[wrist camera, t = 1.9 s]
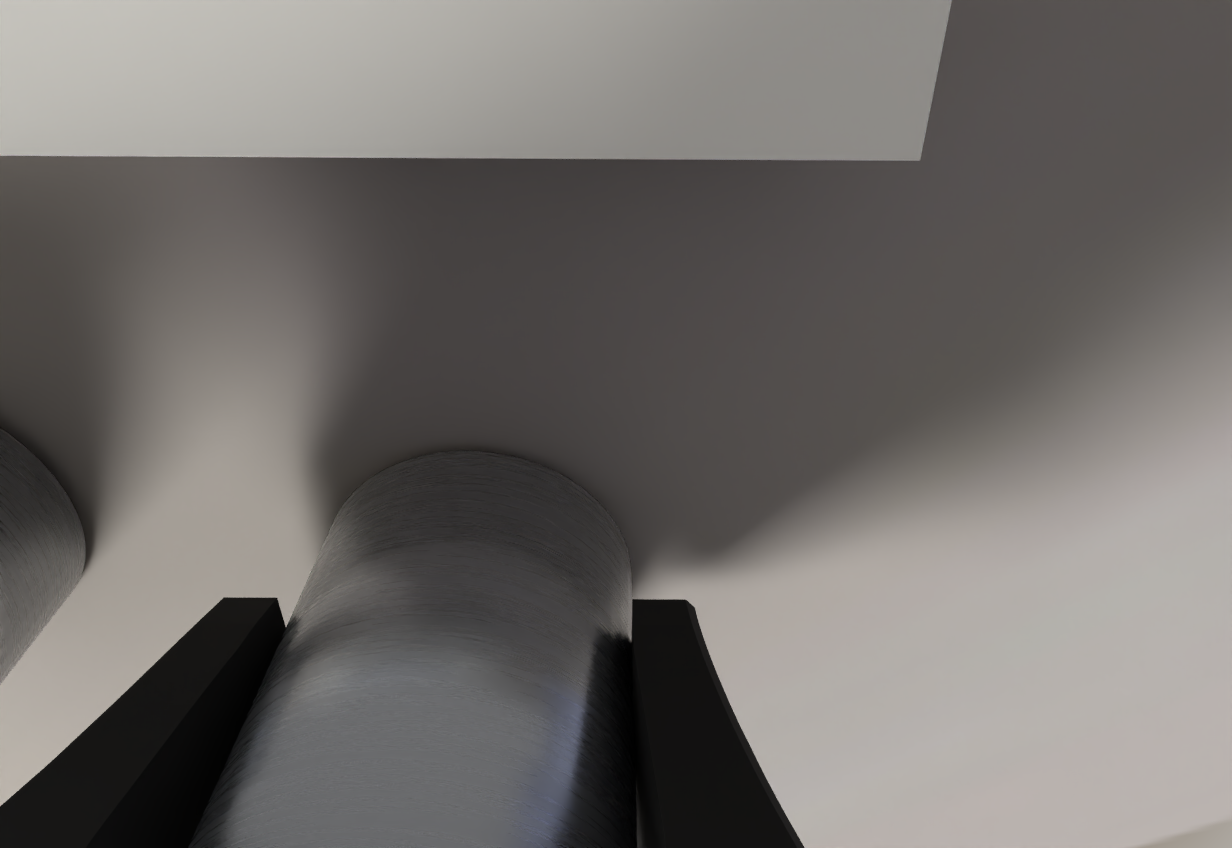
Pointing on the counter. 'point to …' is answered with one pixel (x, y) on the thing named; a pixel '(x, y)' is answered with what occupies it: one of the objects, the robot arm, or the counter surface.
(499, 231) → the counter surface
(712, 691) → the robot arm
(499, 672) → the cylinder
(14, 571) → the cylinder
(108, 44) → the scale
